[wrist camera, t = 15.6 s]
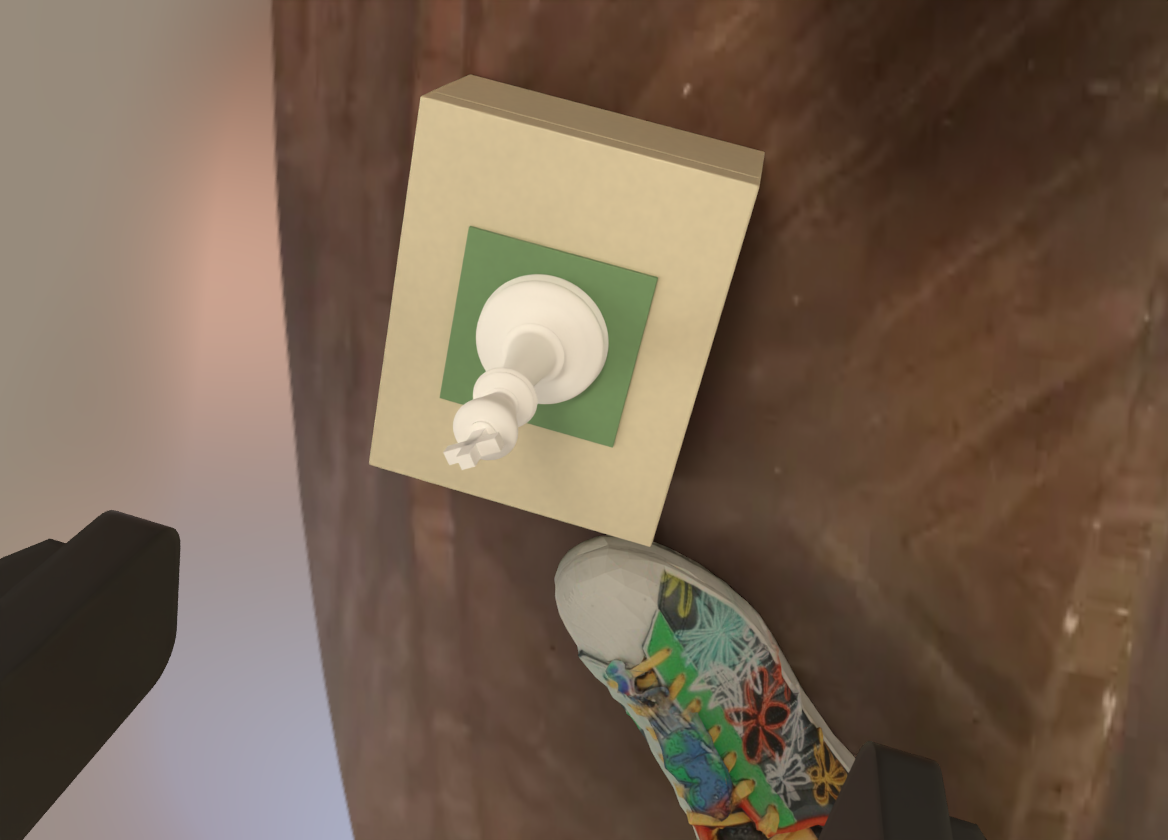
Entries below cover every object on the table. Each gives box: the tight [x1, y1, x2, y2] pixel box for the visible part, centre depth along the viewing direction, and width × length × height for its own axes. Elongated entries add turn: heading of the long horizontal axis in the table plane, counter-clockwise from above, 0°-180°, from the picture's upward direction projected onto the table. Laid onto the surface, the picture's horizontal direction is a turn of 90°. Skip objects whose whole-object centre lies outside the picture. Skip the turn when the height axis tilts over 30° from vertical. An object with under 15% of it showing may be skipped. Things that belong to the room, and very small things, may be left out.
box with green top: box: [369, 75, 765, 547], centre depth 41 cm, size 12×15×6 cm
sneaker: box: [554, 535, 855, 840], centre depth 46 cm, size 8×21×10 cm, turn 41°
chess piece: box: [443, 274, 609, 470], centre depth 34 cm, size 5×5×10 cm
